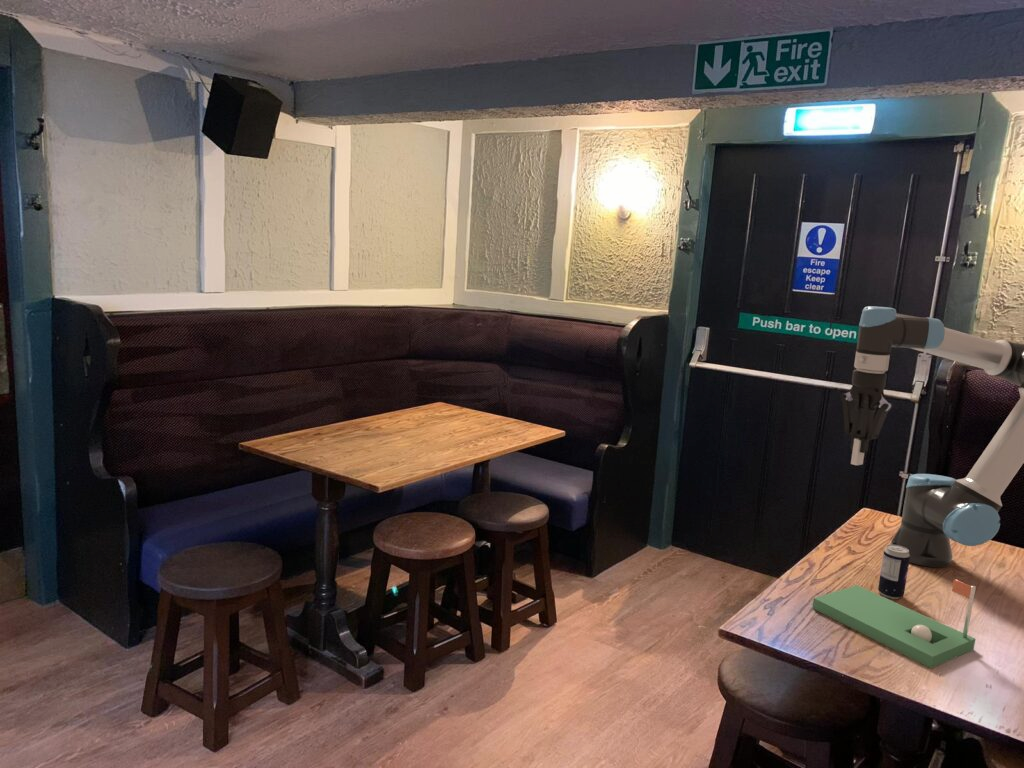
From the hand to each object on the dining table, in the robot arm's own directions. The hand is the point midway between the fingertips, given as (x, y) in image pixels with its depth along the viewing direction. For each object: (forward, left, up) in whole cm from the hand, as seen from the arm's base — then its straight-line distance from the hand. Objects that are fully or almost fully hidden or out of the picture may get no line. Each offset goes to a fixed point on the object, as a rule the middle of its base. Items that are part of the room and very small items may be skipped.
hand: (856, 464), depth 193 cm
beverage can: (-1, +13, -30) cm, 32 cm away
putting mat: (+15, +23, -29) cm, 40 cm away
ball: (+15, +28, -28) cm, 43 cm away
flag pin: (+8, +34, -29) cm, 46 cm away
